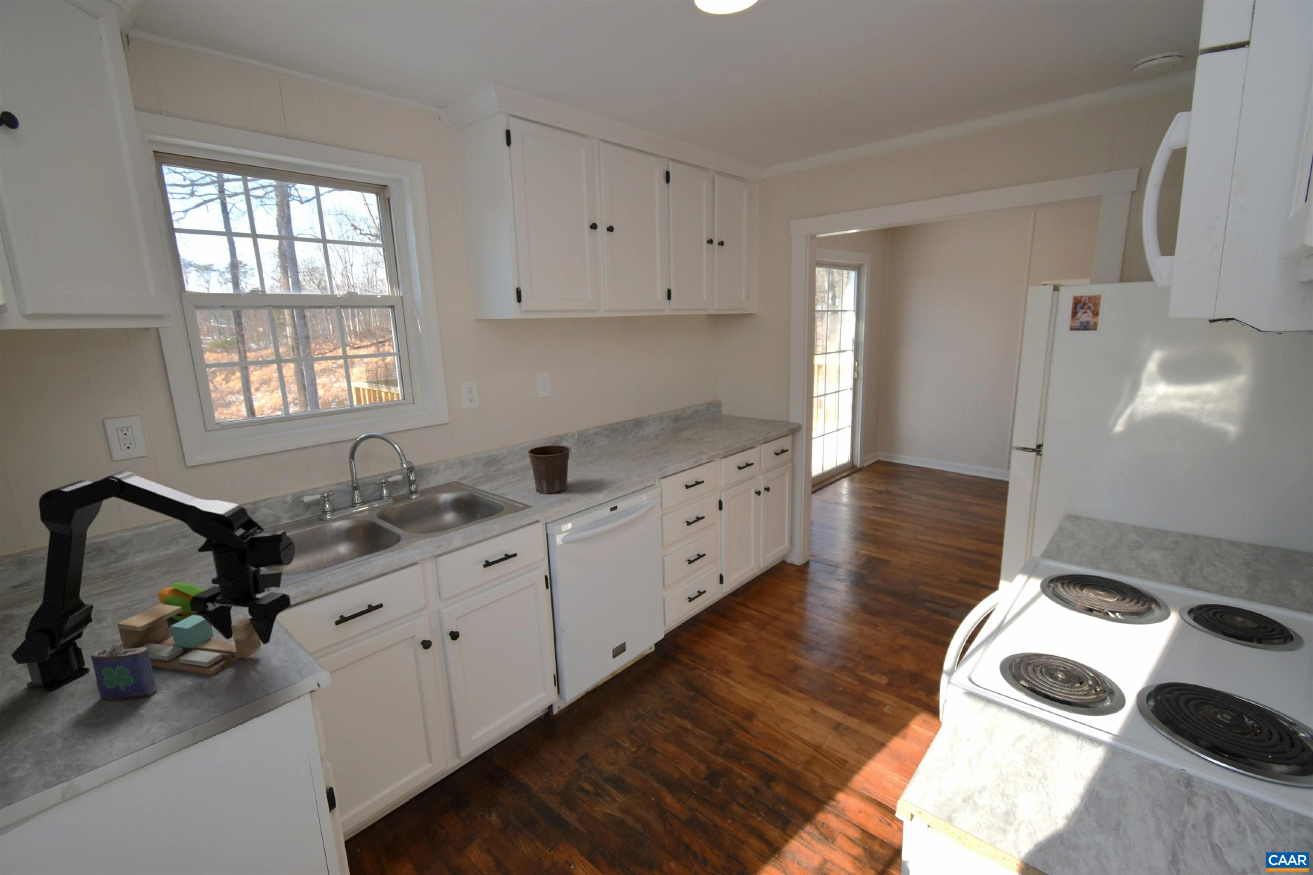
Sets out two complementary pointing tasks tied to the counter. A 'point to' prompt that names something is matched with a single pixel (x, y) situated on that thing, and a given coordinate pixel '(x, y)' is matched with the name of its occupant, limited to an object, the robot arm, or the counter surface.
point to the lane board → (163, 639)
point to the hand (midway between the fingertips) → (247, 640)
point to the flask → (123, 673)
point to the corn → (180, 598)
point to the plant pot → (550, 468)
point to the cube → (191, 632)
